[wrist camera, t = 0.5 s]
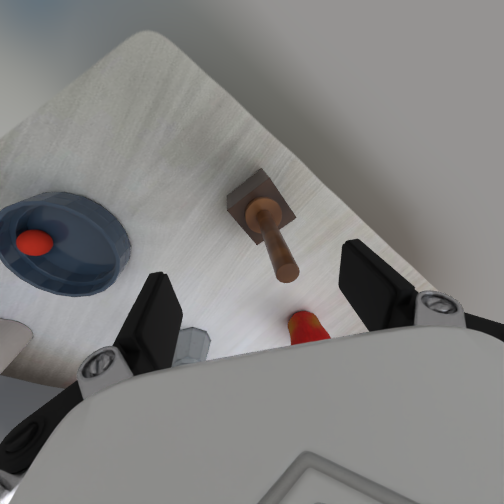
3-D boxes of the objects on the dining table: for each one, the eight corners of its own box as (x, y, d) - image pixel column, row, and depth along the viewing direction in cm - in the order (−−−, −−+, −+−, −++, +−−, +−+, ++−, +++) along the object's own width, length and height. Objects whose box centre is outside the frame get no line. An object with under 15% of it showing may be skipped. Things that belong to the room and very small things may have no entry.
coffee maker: (162, 327, 48) (133, 421, 33) (200, 317, 48) (189, 408, 33) (187, 364, 56) (173, 455, 41) (220, 356, 56) (218, 444, 40)
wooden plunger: (237, 211, 29) (245, 271, 17) (267, 188, 28) (298, 235, 16) (258, 237, 32) (279, 305, 20) (287, 216, 30) (327, 276, 18)
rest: (226, 195, 35) (226, 210, 29) (261, 168, 34) (269, 177, 28) (252, 226, 38) (257, 245, 32) (284, 202, 37) (296, 217, 31)
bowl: (-2, 233, 34) (-34, 248, 30) (59, 167, 31) (32, 174, 26) (93, 292, 42) (78, 311, 37) (151, 245, 38) (142, 260, 34)
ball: (24, 235, 34) (2, 247, 31) (38, 220, 33) (17, 231, 30) (50, 252, 36) (31, 265, 33) (64, 238, 35) (47, 250, 32)
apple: (289, 334, 54) (303, 382, 44) (278, 313, 50) (291, 360, 40) (321, 322, 53) (344, 369, 43) (313, 300, 49) (336, 345, 39)
